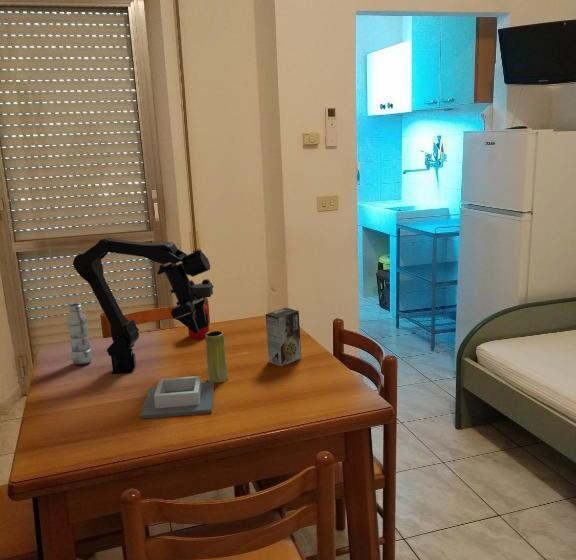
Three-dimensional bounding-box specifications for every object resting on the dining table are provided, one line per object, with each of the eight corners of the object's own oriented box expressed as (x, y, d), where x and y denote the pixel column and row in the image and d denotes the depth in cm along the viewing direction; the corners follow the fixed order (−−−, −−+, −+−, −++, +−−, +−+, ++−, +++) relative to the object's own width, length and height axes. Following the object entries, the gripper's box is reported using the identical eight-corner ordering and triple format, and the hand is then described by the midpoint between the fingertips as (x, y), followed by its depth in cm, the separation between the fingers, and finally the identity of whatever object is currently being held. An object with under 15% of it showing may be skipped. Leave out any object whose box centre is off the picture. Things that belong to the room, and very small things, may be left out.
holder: (140, 418, 142) (139, 402, 141) (151, 390, 159) (149, 375, 158) (211, 412, 143) (210, 396, 142) (214, 384, 161) (212, 370, 160)
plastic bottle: (94, 364, 182) (86, 305, 177) (72, 368, 179) (63, 308, 175) (93, 358, 188) (85, 301, 183) (71, 361, 185) (63, 304, 181)
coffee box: (287, 354, 183) (285, 307, 179) (302, 358, 178) (299, 310, 175) (267, 362, 176) (264, 313, 173) (281, 367, 172) (279, 317, 168)
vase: (231, 375, 167) (227, 330, 164) (223, 384, 161) (219, 337, 158) (212, 374, 169) (208, 329, 165) (204, 382, 163) (200, 336, 160)
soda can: (210, 332, 210) (207, 301, 207) (208, 338, 202) (206, 306, 200) (190, 333, 209) (187, 302, 207) (187, 339, 202) (185, 308, 199)
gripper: (194, 279, 157) (217, 328, 159) (211, 266, 175) (231, 310, 177) (160, 293, 159) (183, 341, 161) (179, 278, 177) (200, 322, 179)
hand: (201, 328), depth 170 cm, fingers open, 9 cm apart
